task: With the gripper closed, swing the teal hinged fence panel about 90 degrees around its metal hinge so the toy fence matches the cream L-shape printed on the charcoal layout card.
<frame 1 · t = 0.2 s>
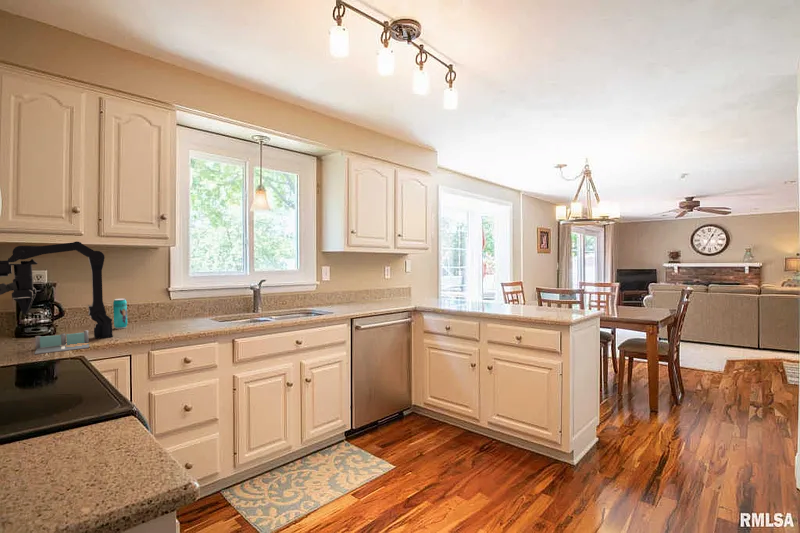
hand: (25, 312, 177), 14 cm above the worktop, fingers open, 9 cm apart
beverage can: (120, 328, 217), on the worktop
fence gate: (50, 340, 174), point 3 cm above the worktop, hinge at 0.0°
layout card: (63, 346, 175), on the worktop
fence fixed: (76, 344, 179), resting on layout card
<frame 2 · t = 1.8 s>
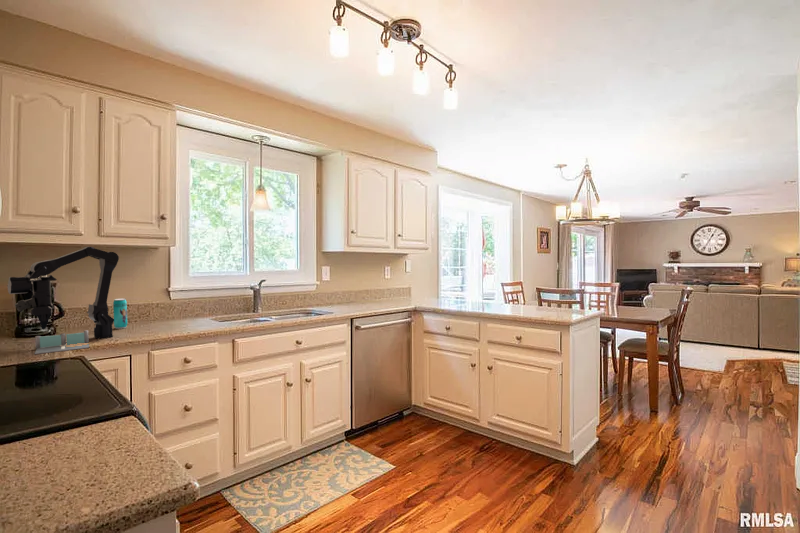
hand: (43, 328, 177), 7 cm above the worktop, fingers closed
nothing on the worktop moved.
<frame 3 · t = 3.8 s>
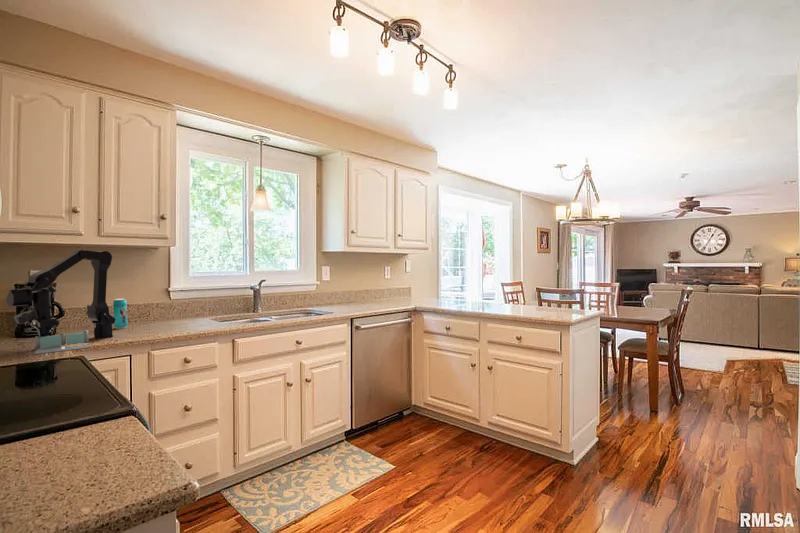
hand: (42, 341, 174), 3 cm above the worktop, fingers closed
fence gate: (50, 340, 174), point 3 cm above the worktop, hinge at 3.4°, touching gripper
everything else where it was.
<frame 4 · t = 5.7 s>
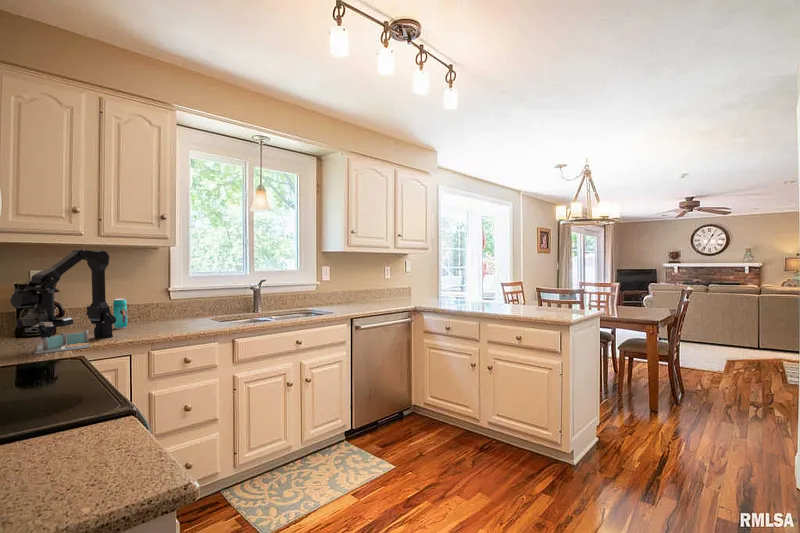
hand: (45, 342, 171), 3 cm above the worktop, fingers closed
fence gate: (54, 341, 173), point 3 cm above the worktop, hinge at 47.2°, touching gripper
everything else where it was.
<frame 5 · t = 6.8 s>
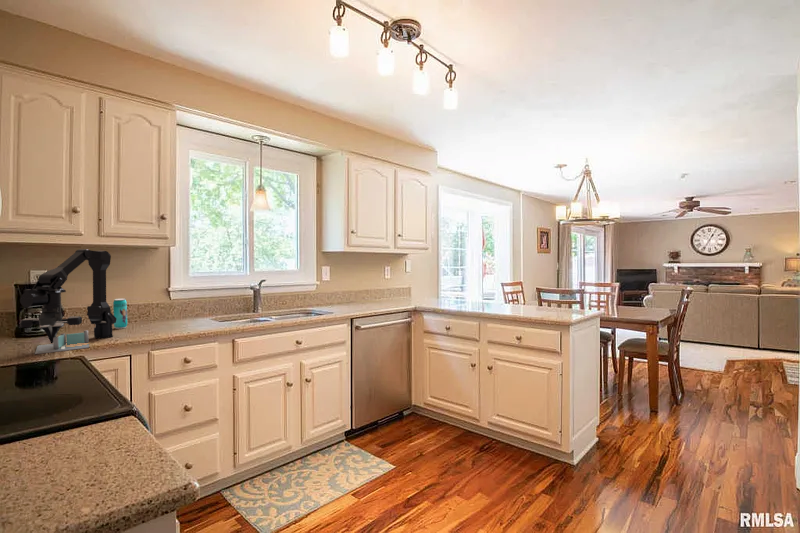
hand: (52, 343, 170), 3 cm above the worktop, fingers closed
fence gate: (59, 341, 173), point 3 cm above the worktop, hinge at 74.6°, touching gripper
everything else where it was.
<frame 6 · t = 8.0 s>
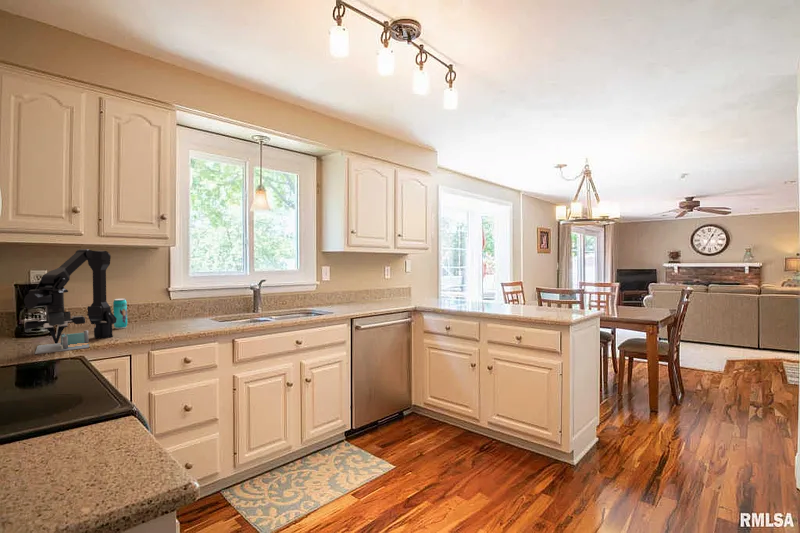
hand: (56, 343, 170), 3 cm above the worktop, fingers closed
fence gate: (64, 340, 174), point 3 cm above the worktop, hinge at 95.6°
everything else where it was.
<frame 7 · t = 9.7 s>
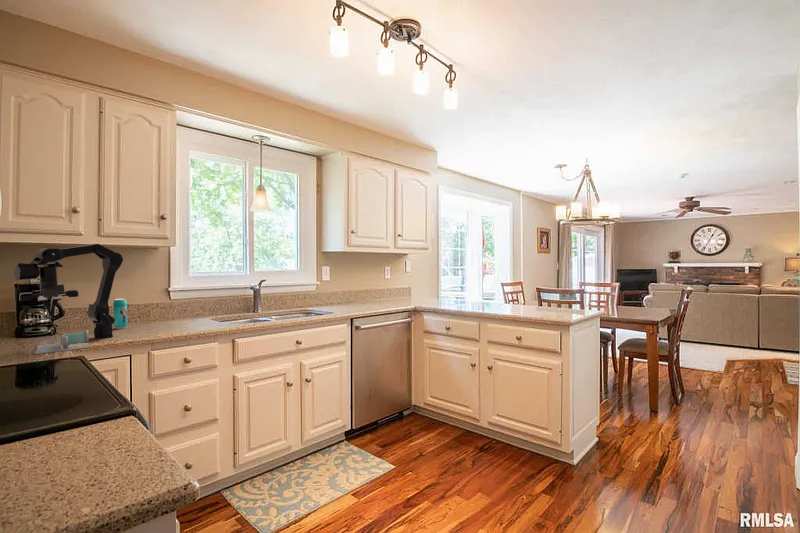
hand: (50, 315, 177), 13 cm above the worktop, fingers closed
nothing on the worktop moved.
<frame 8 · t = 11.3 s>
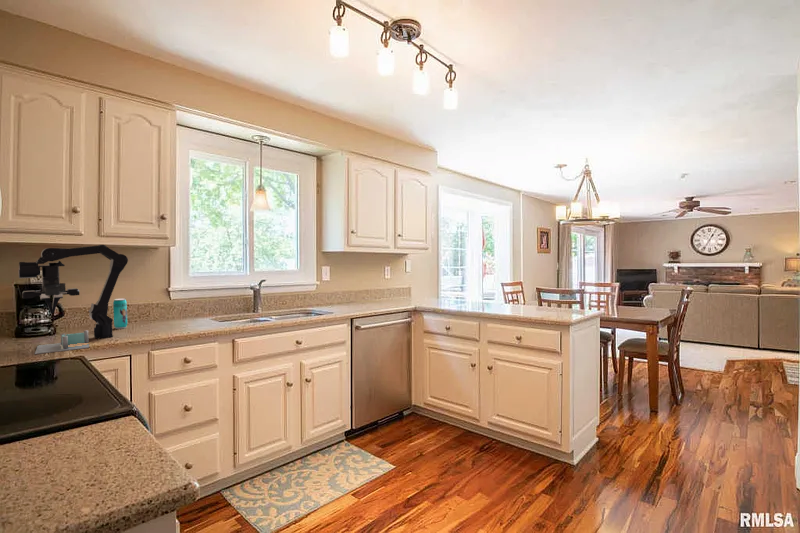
hand: (52, 313, 182), 13 cm above the worktop, fingers closed
nothing on the worktop moved.
at the end: fence gate at +96° (first picture: +0°); the gripper is holding nothing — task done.
